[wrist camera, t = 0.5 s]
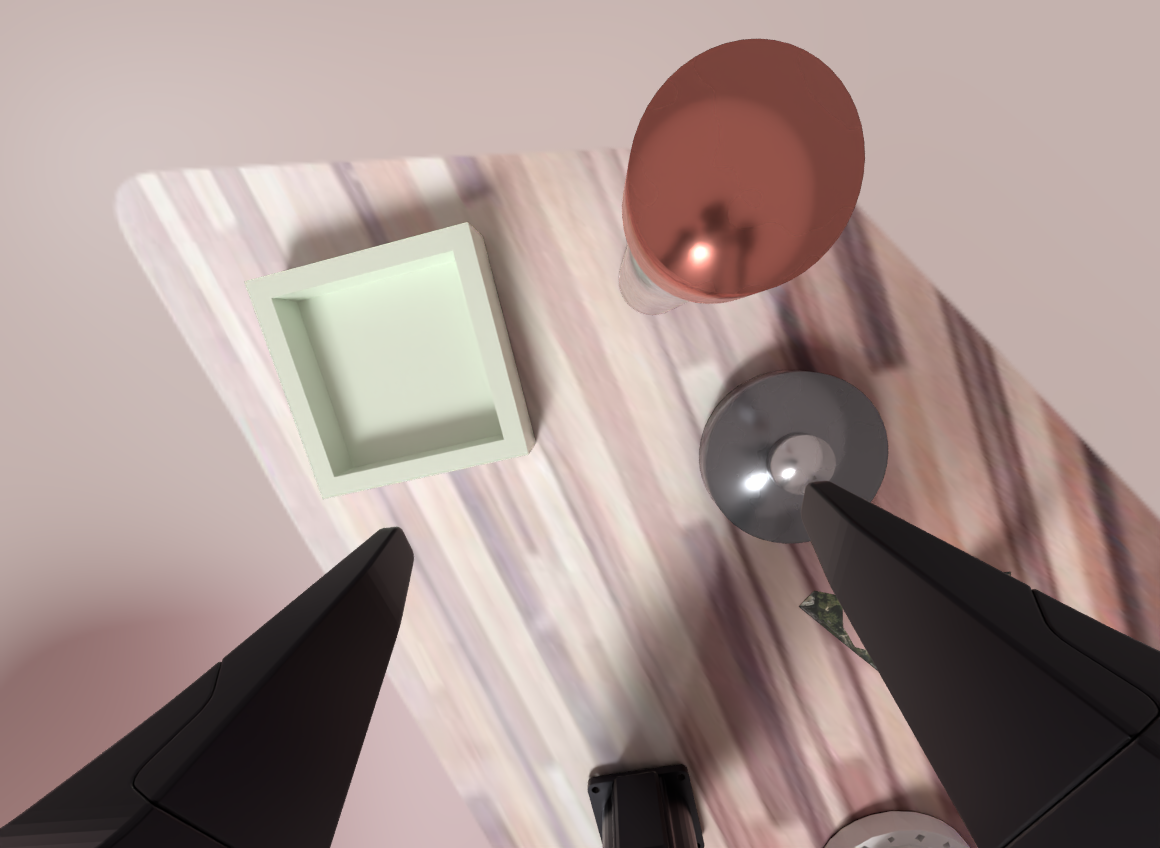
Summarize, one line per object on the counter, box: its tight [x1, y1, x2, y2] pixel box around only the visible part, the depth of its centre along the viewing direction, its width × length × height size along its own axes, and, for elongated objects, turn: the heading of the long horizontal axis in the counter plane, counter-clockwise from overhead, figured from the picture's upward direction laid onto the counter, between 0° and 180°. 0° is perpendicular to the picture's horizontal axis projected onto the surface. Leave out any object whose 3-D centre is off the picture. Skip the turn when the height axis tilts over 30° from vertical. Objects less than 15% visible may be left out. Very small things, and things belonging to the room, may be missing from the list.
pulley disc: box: [699, 370, 888, 543], centre depth 21 cm, size 9×9×2 cm
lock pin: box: [619, 39, 865, 315], centre depth 15 cm, size 5×5×13 cm
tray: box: [244, 222, 536, 499], centre depth 21 cm, size 11×11×2 cm
